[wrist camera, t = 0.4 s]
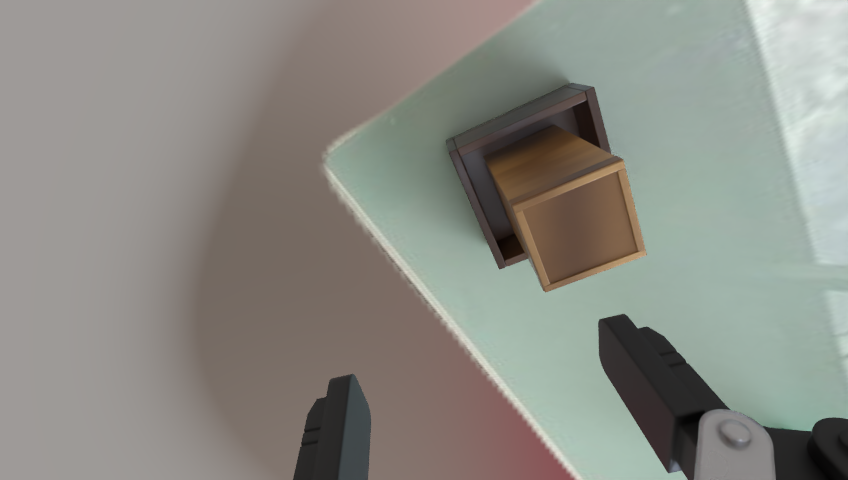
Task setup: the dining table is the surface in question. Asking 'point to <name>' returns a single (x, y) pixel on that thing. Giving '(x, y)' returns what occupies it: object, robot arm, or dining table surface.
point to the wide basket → (560, 107)
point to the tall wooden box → (566, 205)
